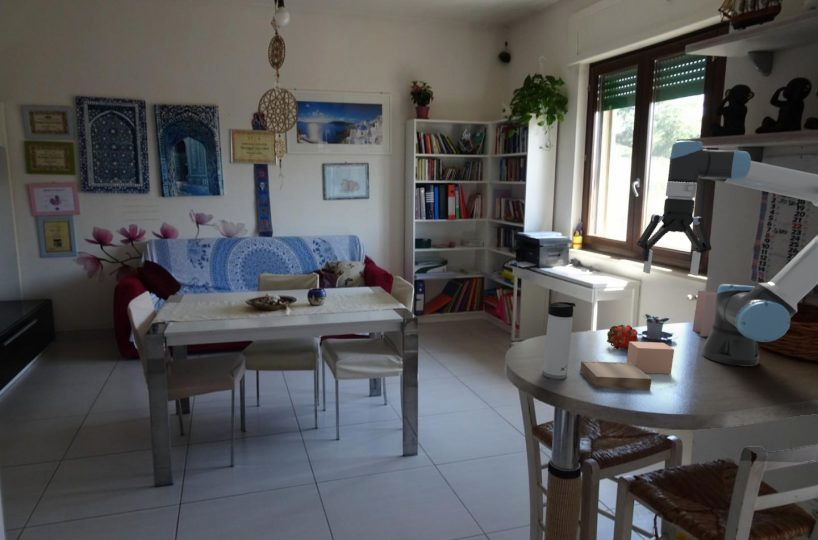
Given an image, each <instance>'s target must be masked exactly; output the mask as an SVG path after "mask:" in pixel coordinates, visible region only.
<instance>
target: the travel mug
mask: <svg viewBox="0 0 818 540" xmlns="http://www.w3.org/2000/svg"><path fill="white" fill-rule="evenodd" d="M575 307H576V303H575V302H568V301H556V302H551V303H550V304H549V306H548V313H547V315H548V316H547V326H546V334H545V345H544V354H543V355H544V357H543V366H542V367H543V368H542V375H543V376H545V378H548V379H552V380H564V379H566V378H567V377H568V369H569V368H568V366H569V357H570V351H571V350H570V349H571V340H572V339H571V338H572V330H573V319H574V308H575Z"/></svg>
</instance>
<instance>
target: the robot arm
mask: <svg viewBox="0 0 818 540" xmlns="http://www.w3.org/2000/svg"><path fill="white" fill-rule="evenodd" d="M703 144H704V143H703V142H702V141H698V140H678V141H675V142H674V143H672V146H671V147H672V148H671V151H670V157H669V166H668V175H667V183H666V189H665V196H666V197H667V198H665V199H664V203H663V204H664V205H663V214H662V215H660V214H652V215H651V217H650V221H649V223H648V224H647V226H646V228H645V229H644V231H643V233H642V234H641V236H640V237H639V239H638V241H637V242H636V247H639V248H642V254H641V260H642V261H644V262H643V271H642V272H643V273H645V274H649V275H650V274H651V268H652V259H653V252H654V251H653V250H652V248H653V247H654V246H655V244H657V243H658V242H659V241H660V240H661V239H662V238H663V237H664V236H665V235H666V234H668V233H669V232H672V233H677V232H678V233H684V235H685V236H686V237H687V238H688V240H689V242H690V243H691V245H692V246H693V248H694V249H695V250H696V251H692V257H691V264H690V271H689V274H690V275H693V276H696V277H697V276H698V275H699V268H700V267H699V266H700V264H702V263H703V258H704V254H705V253H707V252H709V251H711V250H712V246H711V242H710V239H709V236H708V234H707V230H706V228H705V225H704V224H705V218H704V216H693V213H694V211H695V204H696V201H695V199H694V198H696V196H697V188H698V183H699V179H701V180H711V181H716V182H722V183H726V184H730V185H731V184H732V185H736V186H740V187H745V188H748V189H754V190H758V191H762V192H767V193H771V194H776V195H781V196H785V197H790V198H794V199H799V200H803V201H807V202H808V201H809V202H811V203H812V204H813V206H815V207H818V174H816V173H811V172H806V171H802V170H797V169H792V168H788V167H783V166H779V165H774V164H773V165H772V164H768V163H765V162H759V161H754V160H752V157H751V155H750V153H749V152H748V151H745V150H737V149H735V150H733V149H732V150H731V149H730V150H729V149H727V150H724V149H705V148H704V147H703V146H704V145H703ZM661 222H662V223H663V224H662V225H661V226H660V227H659V228H658V230H657V231H656V232H655V233H654V231H655V230H656V229H657V227H658V225H659V224H660V223H661ZM692 224H693V225H694V226H695V230H696V233H697V236H698V237H697V236H696V234H695V233H694V229H693V228H692V226H691V225H692ZM653 233H654V234H653ZM652 234H653V235H652ZM817 285H818V234H817V235H816V236H815V237H814V238H813V239H811V241H809V242H808V243H807V245H805V247H803V249H801V250H800V251H799V252H798V253H797V254H796V255H795V256H794V257H793V258H792V259H791V260H790V261H789V262H788V263H787V264H786V265H784V267H783V268H781V269H780V271H778V273H776V274H775V275H774V277H773V278H771V279H770V280H769V281H768V282H759V283H758V284H757V285H756V286H755V285H743V284H732V283H731V284H730V283H722V284H720V285H719V286H718V287H717V292H716V293H717V294H716V296H717V298H716V305H715V312H714V319H713V326H712V331H711V333H710V335H709V336H707V338H706V340H705V342H704V344H703V346H702V352H701V355H702V357H705V358H707V359H709V360H711V361H715V362H718V363H721V364H725V365H731V366H736V365H755V364H757V363H758V364H759V362H760V361H759V360H760V354H759V350H758V349H759V347H758V343H757V342H760V343H767V342H773V341H776V340H778V339H780V338H782V337H783V336H784V335H785V334H787V331H789V329H790V326H791V318H793V316H794V315H795V314H797V313H798V303H799V302H800V301H801V300H802V299H803V298H804V297H806V295H807V294H808V293H809V292H811V291H812V290H813V288H815V287H816V286H817Z"/></svg>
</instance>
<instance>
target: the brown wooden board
mask: <svg viewBox="0 0 818 540" xmlns="http://www.w3.org/2000/svg"><path fill="white" fill-rule="evenodd" d="M579 367H580V370H579V372H580V371H581V372H582V373H581V372H580V373H581V374H582V375H583V376H584V377H585V378H586V379H587V380H588V382H589V383H590V384H591V385H592V386H593V387H594V388H595V389H615V390H639V391H640V390H641V391H651V388H652V386H651V385H652V378H651V377H650V376H649V375H647V373H644V372H642V371H641V370H640V369H639V368H638V367H636V366H635V365H634V364H633V363H627V362H624V361H623V362H618V361H617V362H616V361H593V360H581V361H580V366H579Z"/></svg>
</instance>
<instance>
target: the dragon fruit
mask: <svg viewBox="0 0 818 540" xmlns="http://www.w3.org/2000/svg"><path fill="white" fill-rule="evenodd" d="M638 335H639V334H638V331H637V329H634V328H633V327H632V326H631V325H630V324H627V325H624V324H621V325H613V326H611V327H610V328H609V330H608V331H607V335H606V337H607V340H606V343H608V344H610V346H611V347H613V348H614V349H615V350H617V351H618V350H620V349H622V350H624V351H628V347H629V341H630V342H640V341H639V338H638Z"/></svg>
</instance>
